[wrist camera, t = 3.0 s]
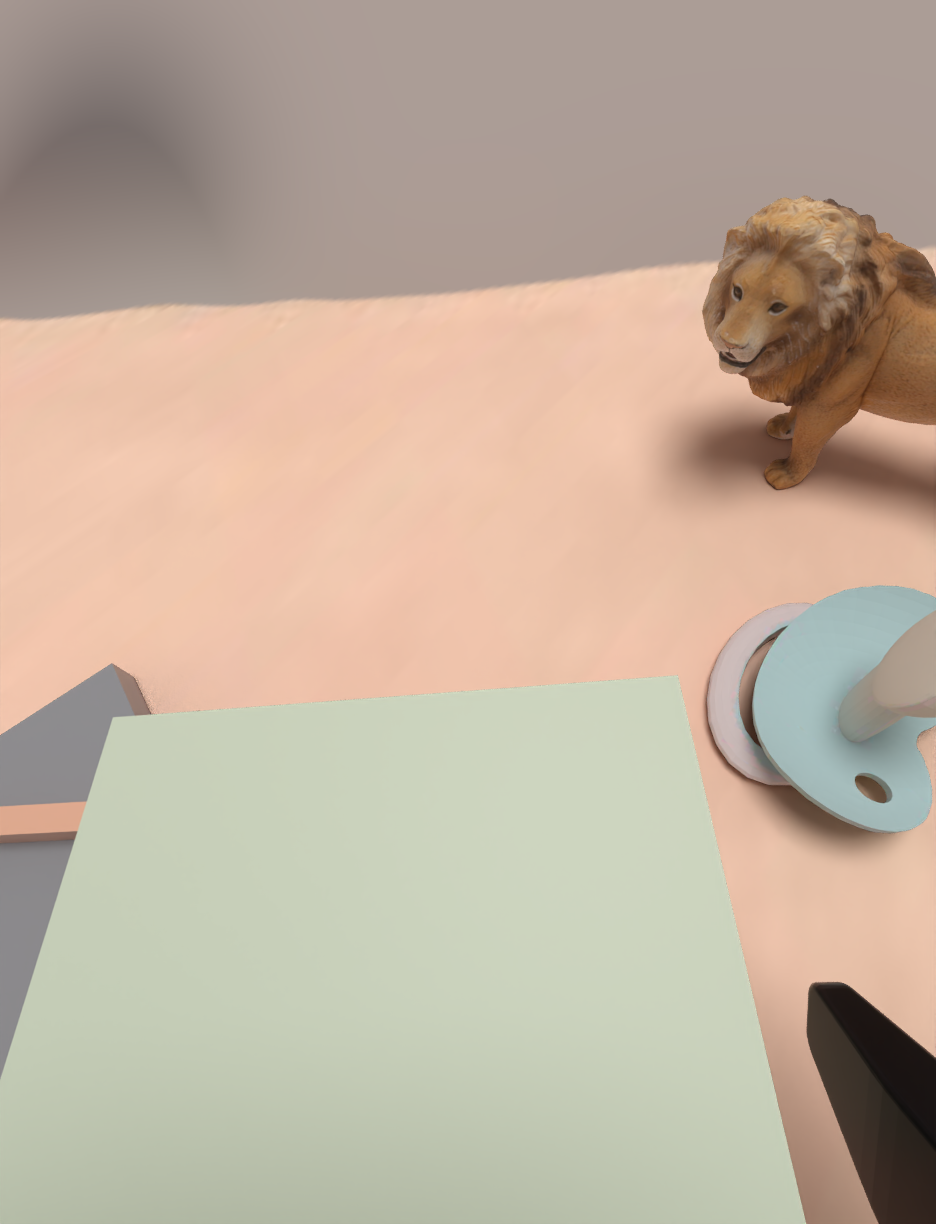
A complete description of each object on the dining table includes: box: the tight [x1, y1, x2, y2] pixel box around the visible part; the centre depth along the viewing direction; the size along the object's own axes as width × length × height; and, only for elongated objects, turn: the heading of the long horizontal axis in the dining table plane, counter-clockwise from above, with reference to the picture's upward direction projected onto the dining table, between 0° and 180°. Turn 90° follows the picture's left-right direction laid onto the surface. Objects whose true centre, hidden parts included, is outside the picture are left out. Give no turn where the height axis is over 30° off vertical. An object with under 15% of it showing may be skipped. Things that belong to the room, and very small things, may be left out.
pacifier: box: [707, 586, 936, 833], centre depth 15 cm, size 7×6×6 cm
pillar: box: [0, 675, 806, 1224], centre depth 9 cm, size 5×5×13 cm
